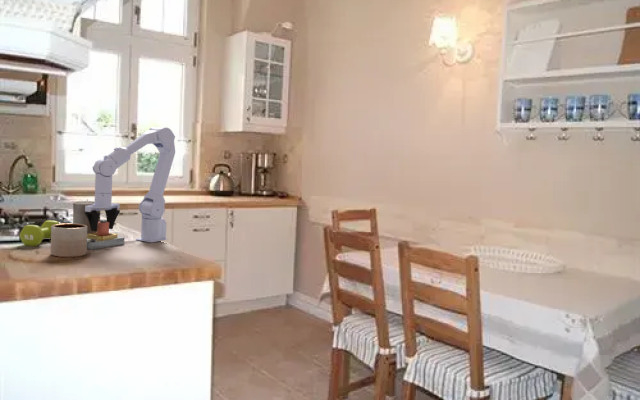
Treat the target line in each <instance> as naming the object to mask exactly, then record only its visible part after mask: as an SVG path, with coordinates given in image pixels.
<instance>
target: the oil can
mask: <svg viewBox="0 0 640 400" xmlns="http://www.w3.org/2000/svg"><path fill="white" fill-rule="evenodd" d="M109 233H110V229H109V222H107V219H100V222H98V228H97V235H99V236H106V235H109Z"/></svg>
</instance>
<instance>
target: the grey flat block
mask: <svg viewBox="0 0 640 400" xmlns="http://www.w3.org/2000/svg"><path fill="white" fill-rule="evenodd" d="M122 245H125V237H123V236H118V233H114V232H109V235H106V236H99V235H97V232H95V233H88V234H87V250H92V251H93V250H99V249H104V248H109V247H114V246H115V247H116V246H122Z"/></svg>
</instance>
